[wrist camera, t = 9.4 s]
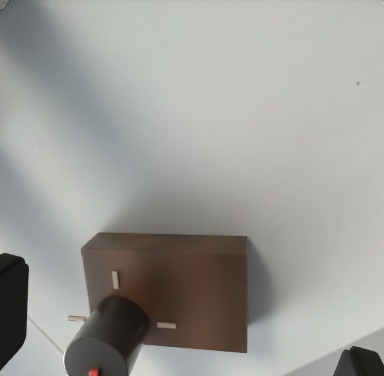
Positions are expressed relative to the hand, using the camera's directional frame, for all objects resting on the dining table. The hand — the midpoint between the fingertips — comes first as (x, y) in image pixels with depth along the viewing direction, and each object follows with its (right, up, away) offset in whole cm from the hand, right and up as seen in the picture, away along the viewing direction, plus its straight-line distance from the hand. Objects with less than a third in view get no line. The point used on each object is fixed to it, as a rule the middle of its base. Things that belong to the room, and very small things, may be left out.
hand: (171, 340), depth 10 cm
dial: (-5, -6, +16) cm, 17 cm away
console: (-2, -4, +18) cm, 19 cm away
